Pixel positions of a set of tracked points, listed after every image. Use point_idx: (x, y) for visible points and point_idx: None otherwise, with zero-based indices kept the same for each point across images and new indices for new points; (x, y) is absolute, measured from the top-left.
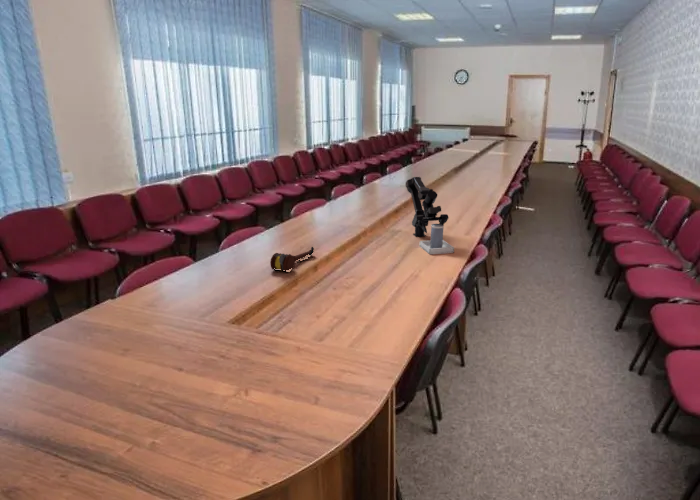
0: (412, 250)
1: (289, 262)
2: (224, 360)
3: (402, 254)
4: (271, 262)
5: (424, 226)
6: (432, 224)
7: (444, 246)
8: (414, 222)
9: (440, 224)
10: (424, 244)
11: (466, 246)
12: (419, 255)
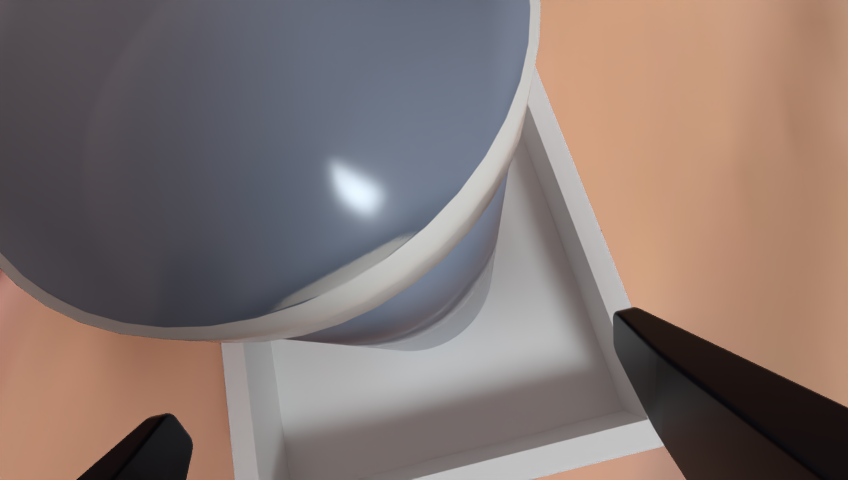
0: (733, 215)
1: None
2: None
3: (844, 53)
4: None
5: (844, 433)
6: (462, 123)
7: (286, 340)
8: None
9: (43, 174)
10: (589, 233)
11: (7, 411)
12: (628, 37)
